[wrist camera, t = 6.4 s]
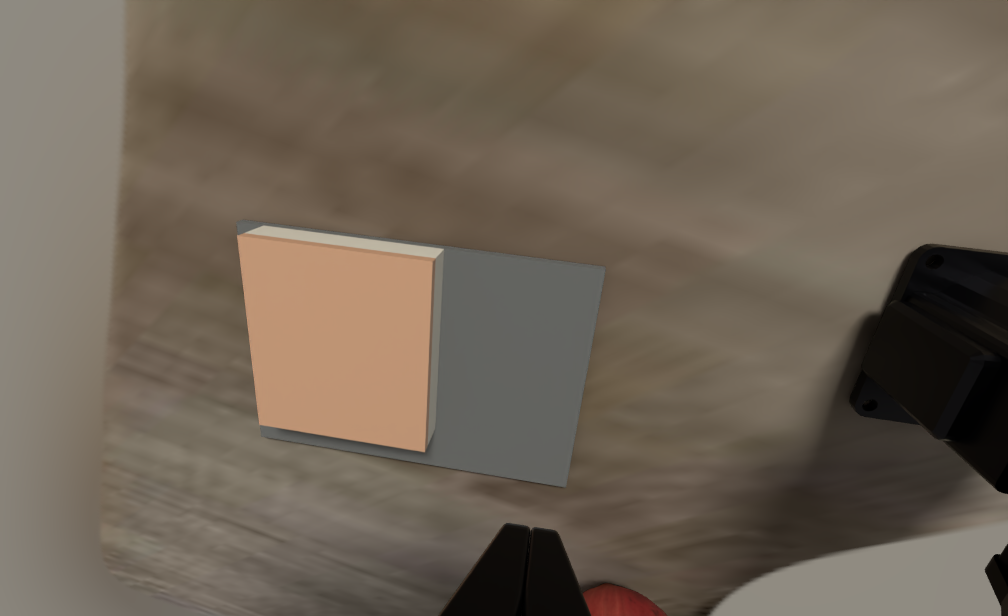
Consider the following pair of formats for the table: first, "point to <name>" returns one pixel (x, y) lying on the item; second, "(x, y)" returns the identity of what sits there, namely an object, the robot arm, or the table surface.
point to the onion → (619, 602)
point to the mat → (499, 364)
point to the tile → (343, 334)
